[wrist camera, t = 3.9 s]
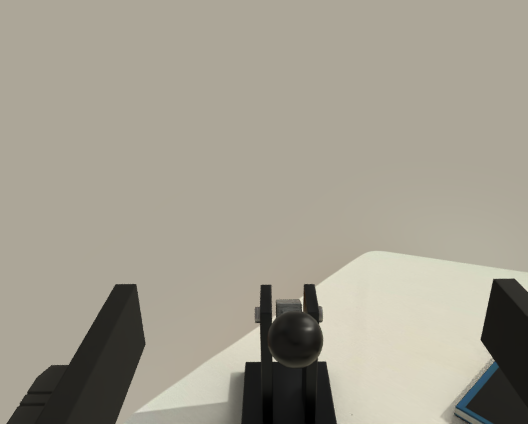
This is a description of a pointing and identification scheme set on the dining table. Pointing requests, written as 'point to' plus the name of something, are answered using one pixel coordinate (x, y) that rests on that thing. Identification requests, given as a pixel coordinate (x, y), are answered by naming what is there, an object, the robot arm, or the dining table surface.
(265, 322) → the bracket
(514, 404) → the sketchbook
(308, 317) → the control lever
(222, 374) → the dining table surface
